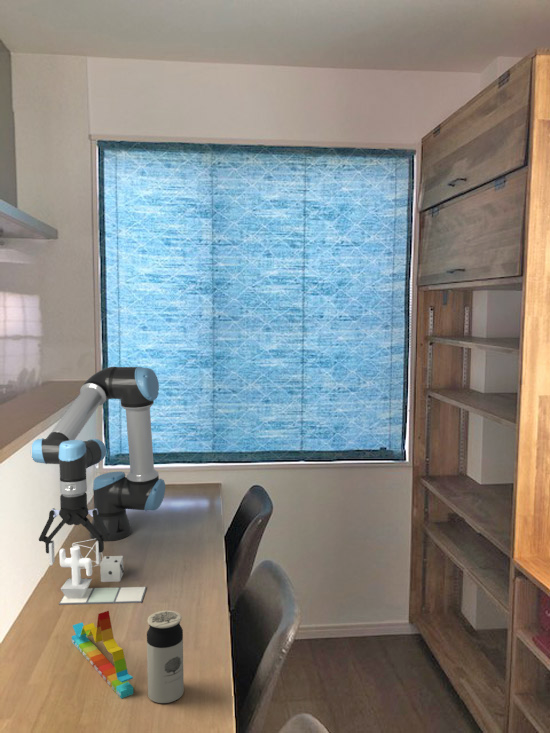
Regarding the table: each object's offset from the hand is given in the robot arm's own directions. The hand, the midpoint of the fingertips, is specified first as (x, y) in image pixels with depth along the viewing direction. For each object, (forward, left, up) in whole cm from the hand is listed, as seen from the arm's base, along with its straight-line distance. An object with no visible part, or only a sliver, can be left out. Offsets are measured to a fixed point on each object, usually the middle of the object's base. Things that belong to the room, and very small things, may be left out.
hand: (75, 563), depth 194 cm
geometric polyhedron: (-24, -2, -11) cm, 27 cm away
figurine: (0, 0, -10) cm, 10 cm away
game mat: (0, +8, -11) cm, 13 cm away
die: (-13, +8, -11) cm, 19 cm away
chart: (+38, +15, -11) cm, 42 cm away
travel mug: (+50, +32, -11) cm, 60 cm away
